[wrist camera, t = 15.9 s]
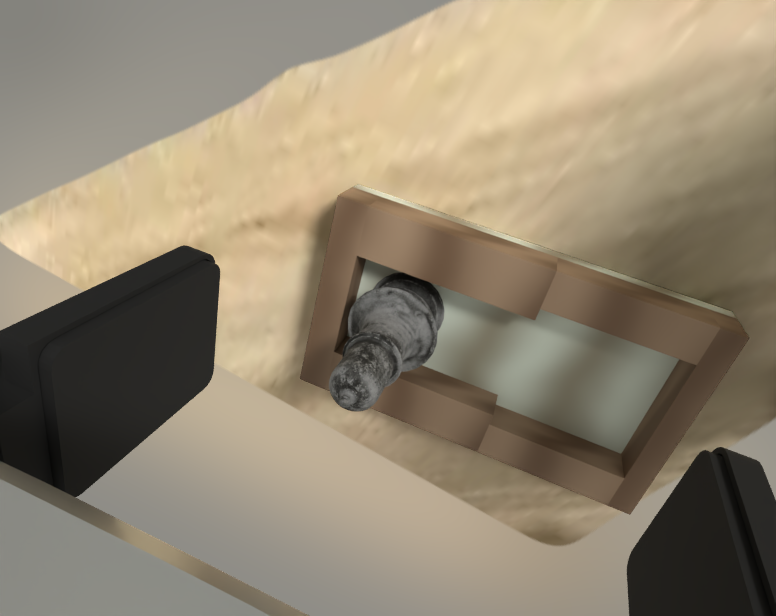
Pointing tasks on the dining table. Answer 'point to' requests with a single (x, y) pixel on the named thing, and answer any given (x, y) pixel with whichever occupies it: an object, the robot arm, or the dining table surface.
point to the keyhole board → (528, 347)
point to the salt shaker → (386, 338)
